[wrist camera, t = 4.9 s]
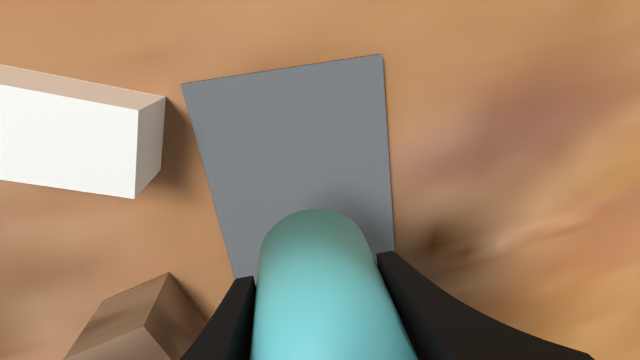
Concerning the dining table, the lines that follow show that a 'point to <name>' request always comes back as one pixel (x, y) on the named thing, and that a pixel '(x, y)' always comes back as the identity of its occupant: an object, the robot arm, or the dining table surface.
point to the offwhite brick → (78, 133)
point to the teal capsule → (323, 295)
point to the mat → (294, 150)
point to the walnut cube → (141, 325)
